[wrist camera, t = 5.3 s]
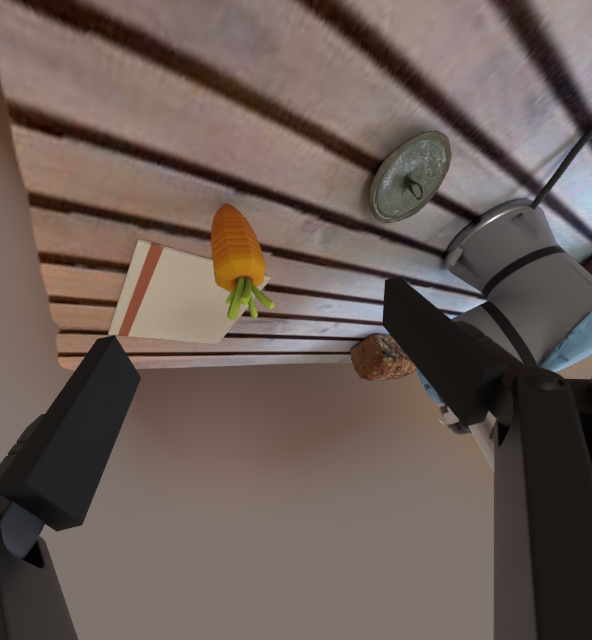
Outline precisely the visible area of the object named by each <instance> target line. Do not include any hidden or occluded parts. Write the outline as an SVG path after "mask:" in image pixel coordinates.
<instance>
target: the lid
mask: <svg viewBox="0 0 592 640" xmlns="http://www.w3.org/2000/svg"><path fill="white" fill-rule="evenodd" d="M450 160H451V150H450V144H449V140H448V138H447V137H446V136H445V135H444V134H442V133H440V132H438V131H429V132H423V133H420V134H418V135H416V136H414V137H412V138H410V139H408V140H407V141H405V142H404V143H402V144H401V145H399V146H398V147H397V148H396V149H395V150H394V151H393V152H392V153H391V154H390V155H389V156H388V157H387V158H386V159H385V161H384V162H383V163H382V165H381V166H380V167H379V169H378V171H377V173H376V175H375V177H374V178H373V181H372V184H371V187H370V192H369V205H370V209H371V211H372V214H373V215H374V216H375V218H376V219H378V220H379V221H383V222H387V223H388V222H391V223H392V222H395V221H400V220H403V219H405V218H408V217H410V216H412V215H414V214H415V213H417V212H418V211H419V210H420V209H421V208H423V207H424V206H425V205H426V204H427V203H428V202H429V201H430V199H431V198H432V197H433V196H434V194H435V193H436V192H437V190H438V189H439V187H440V186H441V184H442V181H443V180H444V178H445V176H446V173H447V171H448V169H449V166H450Z"/></svg>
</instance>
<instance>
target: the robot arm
mask: <svg viewBox="0 0 592 640" xmlns="http://www.w3.org/2000/svg"><path fill="white" fill-rule="evenodd" d="M591 137H592V127H591V128H590V129H589V130H588V131H587V132H586V133H585V134H584V135H583V136H582V138H581V139H580V140H579V141H578V142H577V144H576V145H575V146H574V147H573V148H572V150H571V151H570V152H569V154H568V155H567V156H566V158H565V159H564V161H563V162H562V164H561V165H560V166H559V168H558V169H557V171H556V172H555V173H554V175H553V176H552V177H551V179H550V180H549V181H548V183H547V184H546V185H545V187H544V188H543V189H542V191H541V192H540V193H539V195H538V196H537V197H536V199H535V200H534V201H531V200H527V199H520V200H514V201H511V202H508V203H505V204H502V205H500V206H498V207H496V208H494V209H492V210H490V211H488V212H487V213H485V214H483V215H482V216H480V217H479V218H477V219H476V220H475V221H473V222H472V223H471V224H470V225H468V226H467V227H466V228H465V229H464V230H463V231H462V232H461V233H460V234H459V235H458V236H457V237H456V238H455V239H454V241H453V242H452V243H451V245H450V246H449V248H448V250H447V251H446V254H445V258H444V262H445V265H446V266H447V268H448V269H449V270H450V272H451V273H452V274H454V275H455V276H457V277H458V278H460V279H462V280H463V281H465V282H466V283H468V284H470V285H471V286H473V287H474V288H476V289H477V290H479V291H480V292H481V293H482V294H483V295H484V297H485V298H486V299H487V302H485V303H483V304H481V305H479V306H477V307H475V308H473V309H471V310H469V311H467V312H465V313H463V314H461V315H459V316H457V317H455V318H453V319H450V318H449V317H447V316H446V315H445V314H444V313H442V312H441V311H440V310H439V309H438V308H436V307H435V306H434V305H433V304H432V303H430V302H429V301H428V300H427V299H425V298H424V297H423V296H422V295H421V294H419V293H418V292H417V291H416V290H415V289H413V288H412V287H411V286H410V285H408V284H407V283H406V282H405V281H404V280H402V279H401V278H400V277H398V278H393V279H388V280H385V291H384V308H383V326H384V327H385V329H386V330H387V331H388V332H389V334H390V335H391V336H392V337H393V339H394V340H395V341H396V342H397V344H398V345H399V346H400V347H401V349H402V350H403V351H404V352H405V354H406V355H407V356H408V357H409V359H410V360H411V361H412V362H413V364H414V365H415V367H416V370H417V373H418V375H419V378H420V380H421V382H422V384H424V387H425V390H426V391H427V393H428V395H429V396H430V398H431V399H432V401H434V402H435V403H437V404H445V405H446V407H447V409H448V411H449V412H450V413H452V414H454V415H455V416H456V417H457V418H458V420H459V421H460V422H461V423H462V424H463V426H464V427H466V426H469V428H470V430H471V432H472V434H473V436H474V437H475V439H476V441H477V443H478V445H479V446H480V448H481V450H482V452H483V454H484V455H485V457H486V459H487V461H488V463H489V465H490V466H491V468H492V470H493V472H494V640H592V379H591V380H589V379H588V380H587V379H564V378H563V377H562V376H561V375H559V374H557V373H555V372H556V371H559V370H561V369H563V368H566V367H568V366H570V365H572V364H574V363H576V362H578V361H580V360H582V359H584V358H586V357H588V356H589V355H591V354H592V275H591V274H590V273H589V272H587V271H586V270H585V269H584V268H583V267H582V266H581V265H580V264H579V263H577V262H576V261H575V260H574V259H573V258H572V257H571V256H570V255H569V254H567V253H566V252H565V251H564V250H563V249H562V248H561V247H560V246H559V245H558V244H557V243H556V241H555V238H554V236H553V234H552V231H551V229H550V227H549V224H548V222H547V219H546V217H545V215H544V212H543V210H542V209H541V208H540V207H539V206H538V205H539V204H540V203H541V201H542V200H543V199H544V197H545V196H546V195H547V194H548V192H549V191H550V190H551V189H552V187H553V186H554V185H555V183H556V182H557V181H558V179H559V178H560V177H561V175H562V174H563V173H564V171H565V170H566V169H567V167H568V166H569V164H570V163H571V162H572V160H573V159H574V158H575V156H576V155H577V154H578V152H579V151H580V150H581V149H582V147H583V146H584V145H585V144H586V143H587V142H588V141H589V139H590V138H591ZM140 378H141V377H140V375H139V374H138V372H137V371H136V369H135V367H134V366H133V364H132V362H131V361H130V359H129V358H128V356H127V354H126V353H125V351H124V350H123V348H122V346H121V345H120V343H119V342H118V340H117V338H116V337H115V335H114V336H110V337H105V338H100V339H97V340H96V342H95V343H94V345H93V346H92V348H91V349H90V350H89V352H88V353H87V355H86V356H85V358H84V359H83V360H82V362H81V363H80V365H79V366H78V368H77V369H76V371H75V372H74V373H73V375H72V376H71V378H70V379H69V381H68V382H67V383H66V385H65V386H64V388H63V389H62V391H61V392H60V393H59V395H58V396H57V398H56V399H55V401H54V402H53V403H52V405H51V406H50V408H49V409H48V411H47V412H46V414H42V415H41V416H39V417H38V418H37V419H36V420H35V421H34V422H32V423H31V424H30V425H29V426H28V427H27V428H26V430H25V431H24V432H23V433H22V435H21V436H20V438H19V439H18V440H17V444H15V445H14V446H13V447H12V449H11V450H10V451H9V453H8V456H6V457H5V458H4V459H3V461H2V462H1V464H0V640H78V638H77V635H76V632H75V629H74V626H73V623H72V620H71V617H70V614H69V611H68V608H67V605H66V602H65V599H64V596H63V593H62V590H61V587H60V584H59V581H58V578H57V575H56V572H55V569H54V566H53V563H52V560H51V557H50V554H49V551H48V548H47V545H46V542H45V541H44V539H43V538H41V537H40V536H39V535H40V533H41V531H42V529H43V526H44V525H45V524H46V525H48V526H49V527H51V528H52V529H54V530H56V531H61V530H64V529H68V528H72V527H76V526H80V525H82V524H83V522H84V519H85V517H86V514H87V512H88V509H89V506H90V504H91V502H92V499H93V497H94V494H95V492H96V489H97V487H98V484H99V482H100V479H101V476H102V474H103V471H104V469H105V466H106V464H107V461H108V459H109V456H110V454H111V451H112V449H113V446H114V444H115V441H116V439H117V436H118V434H119V431H120V429H121V426H122V424H123V421H124V419H125V416H126V414H127V411H128V409H129V406H130V404H131V401H132V399H133V396H134V394H135V391H136V389H137V386H138V384H139V381H140Z"/></svg>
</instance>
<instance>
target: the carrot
mask: <svg viewBox="0 0 592 640" xmlns="http://www.w3.org/2000/svg"><path fill="white" fill-rule="evenodd" d="M211 245H212V257H213V267H214V275H215V282H216V284H217V286H219V287H221V288H223V289H225V290H227V291H229V292H231V293H230V295H229V296H228V298H227V300H226V301H225V303H227V304H230V306H229V310H228V313H227V317H228V318H229V319H231V320H236V318H237V315H238V312H239V309H240V305H241V304H242V305H247V304H248V305H249V310H250V314H251V317H252V319H254V318H256V317H257V316H258V314H257V310H256V306H255V303H254V300H253V296H252V294H251V293H252V292H253V293H254V295H255V296H256V297H257V298H258V300H259V301H260V302H261V303H262V304H264V305H265V306H266V307H268V308H270V309H272V308H273V307H274V305H275V303H273V302H272V301H271V300H270V299H268V298H267V297H266V296H265V295H264V294H263V293H262V292H261V291H260V290H259V289H258V288H257V287H258V286H259V285H260V284H262V283H263V282H264V274H265V260H264V257H263V254H262V251H261V248H260V245H259V242H258V240H257V237H256V235H255V233H254V231H253V229H252V228H251V226H250V224H249V223H248V221H247V220H246V218H245V217H244V216H243V215H242V214H241V213H240V212H239V211H238V210H236V209H235V208H234V207H233V206H231V205H230V204H224V205H222V206H221V208H220V209H219V210H218V211H217V212H216V215H215V217H214V219H213V224H212V231H211Z"/></svg>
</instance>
